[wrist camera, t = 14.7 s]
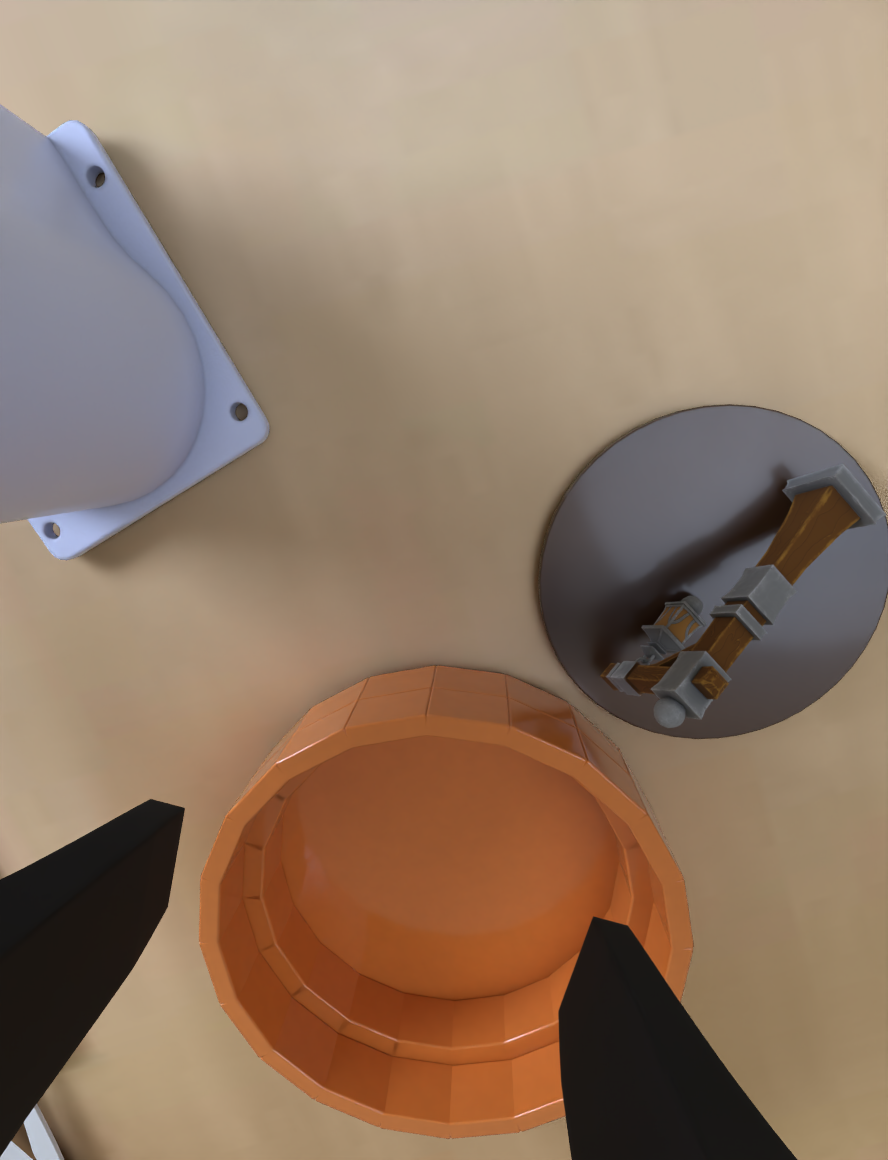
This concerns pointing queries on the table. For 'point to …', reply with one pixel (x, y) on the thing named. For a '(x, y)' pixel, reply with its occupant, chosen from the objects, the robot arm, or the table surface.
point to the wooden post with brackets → (742, 601)
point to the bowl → (431, 897)
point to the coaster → (706, 562)
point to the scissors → (35, 1140)
